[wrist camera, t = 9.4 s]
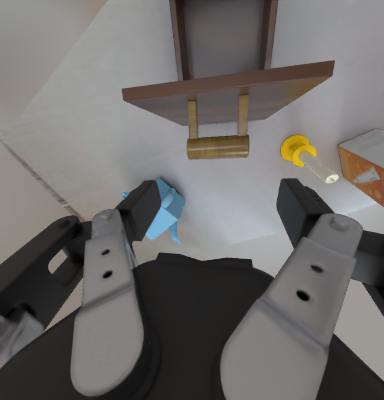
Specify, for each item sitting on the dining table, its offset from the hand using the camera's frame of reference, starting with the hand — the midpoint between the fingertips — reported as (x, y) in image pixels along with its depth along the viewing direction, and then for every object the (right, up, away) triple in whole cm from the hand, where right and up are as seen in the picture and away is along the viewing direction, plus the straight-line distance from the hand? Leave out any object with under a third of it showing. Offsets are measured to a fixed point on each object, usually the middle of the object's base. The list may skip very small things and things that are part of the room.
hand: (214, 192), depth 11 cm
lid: (+2, +10, +8) cm, 13 cm away
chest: (+4, +24, +18) cm, 30 cm away
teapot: (-10, 0, +37) cm, 38 cm away
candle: (+20, +10, +24) cm, 32 cm away
